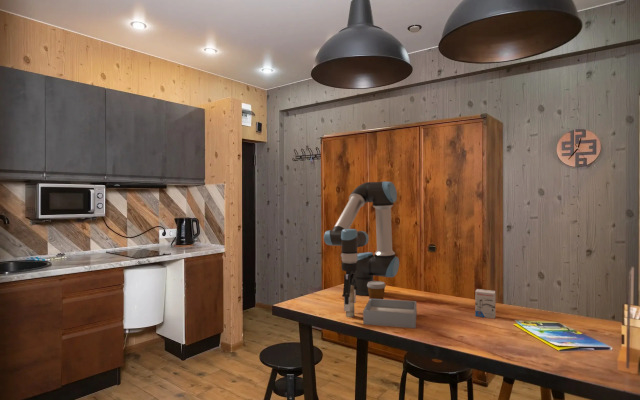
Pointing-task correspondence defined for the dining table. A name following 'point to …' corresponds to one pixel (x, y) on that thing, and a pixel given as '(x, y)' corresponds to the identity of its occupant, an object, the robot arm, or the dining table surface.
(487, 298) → the ink box
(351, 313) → the beech dowel
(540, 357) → the dining table surface
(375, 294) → the disposable coffee cup
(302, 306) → the dining table surface
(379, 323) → the socket box
